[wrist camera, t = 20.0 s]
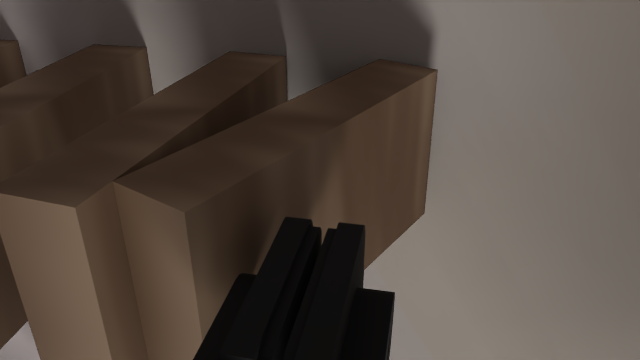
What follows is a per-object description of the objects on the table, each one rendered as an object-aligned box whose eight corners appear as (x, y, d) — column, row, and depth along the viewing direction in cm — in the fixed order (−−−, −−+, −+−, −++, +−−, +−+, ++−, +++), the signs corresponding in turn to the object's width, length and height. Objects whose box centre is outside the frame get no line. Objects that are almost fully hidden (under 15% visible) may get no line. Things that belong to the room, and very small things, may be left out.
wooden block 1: (285, 56, 18) (74, 207, 10) (290, 191, 21) (123, 405, 12) (229, 51, 19) (-14, 190, 11) (240, 183, 21) (48, 383, 13)
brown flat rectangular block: (146, 47, 20) (-98, 183, 11) (165, 176, 22) (-24, 373, 13) (93, 44, 20) (-186, 173, 11) (117, 172, 22) (-96, 360, 14)
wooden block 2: (437, 69, 17) (184, 212, 10) (424, 213, 19) (212, 412, 12) (379, 59, 18) (112, 181, 11) (373, 196, 20) (150, 371, 13)
